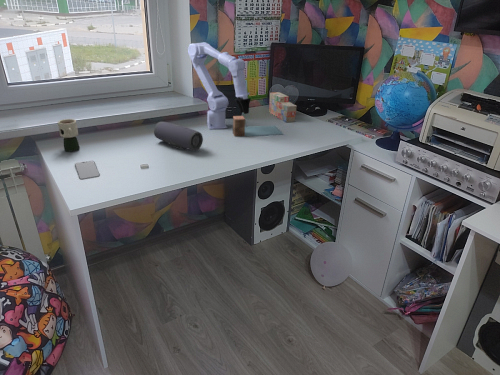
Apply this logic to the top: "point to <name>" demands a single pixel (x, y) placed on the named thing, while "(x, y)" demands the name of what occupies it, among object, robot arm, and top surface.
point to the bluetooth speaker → (178, 136)
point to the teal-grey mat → (262, 130)
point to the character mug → (69, 134)
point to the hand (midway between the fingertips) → (244, 112)
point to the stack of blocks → (282, 107)
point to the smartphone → (87, 170)
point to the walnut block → (238, 126)
